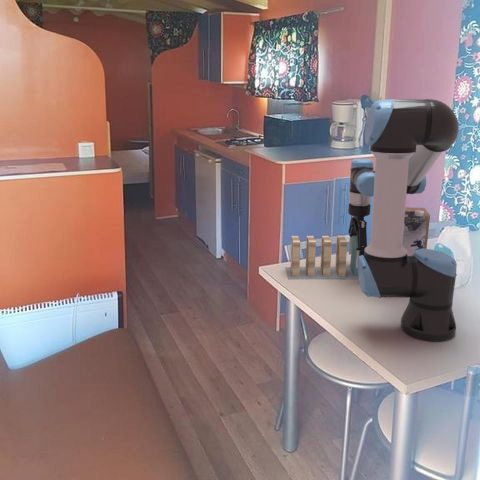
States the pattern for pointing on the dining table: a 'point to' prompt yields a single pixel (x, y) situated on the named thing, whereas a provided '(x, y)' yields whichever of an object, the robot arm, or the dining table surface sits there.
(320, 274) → the mat
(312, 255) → the tile
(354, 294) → the dining table surface
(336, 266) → the tile
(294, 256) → the tile
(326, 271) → the tile
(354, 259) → the end tile
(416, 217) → the juice carton
